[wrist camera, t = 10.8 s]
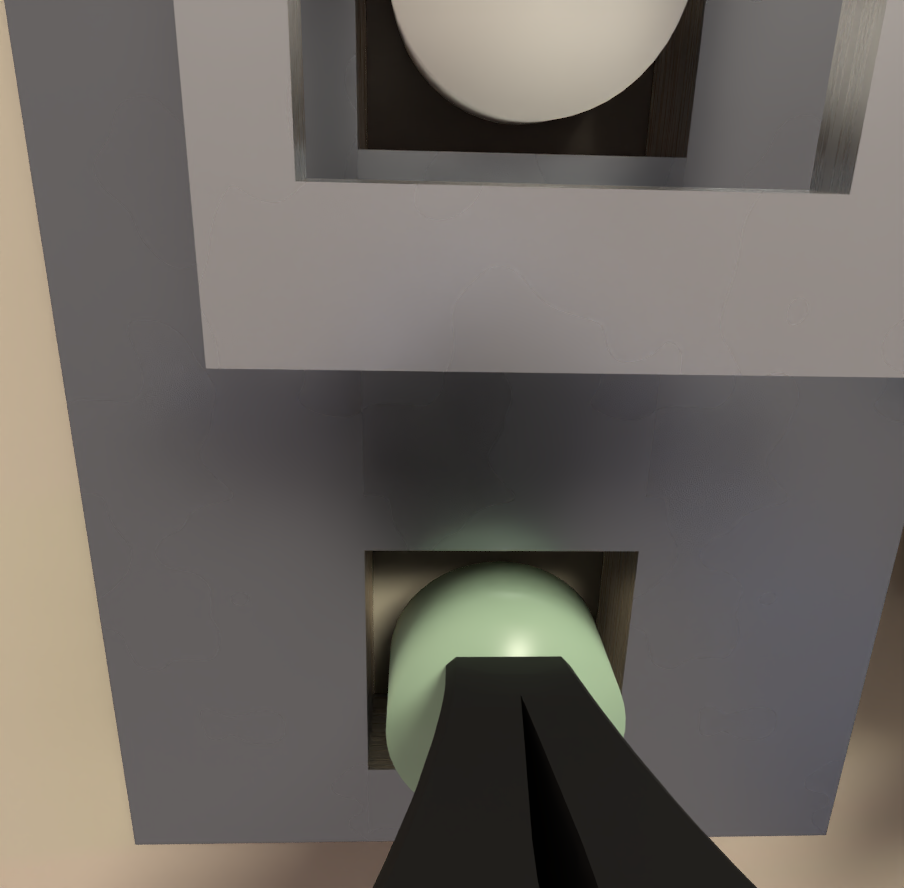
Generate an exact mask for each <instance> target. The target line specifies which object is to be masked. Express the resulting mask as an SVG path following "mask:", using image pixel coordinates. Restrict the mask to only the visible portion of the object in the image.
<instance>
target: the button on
mask: <svg viewBox="0 0 904 888" xmlns="http://www.w3.org/2000/svg"><path fill="white" fill-rule="evenodd" d="M538 656H561V657H562V658H563V659H564V660H565V661H566V662H567V663H568V664H569V665H570V666H571V668H572V669H573V670H574V672H575V673H576V675H577V676H578V677H579V679H580V680H581V682H582V683H583V684H584V686H585V687H586V689H587V690H588V691H589V693H590V694H591V696H592V697H593V698H594V700H595V701H596V702H597V704H598V705H599V706H600V708H601V709H602V710H603V712H604V713H605V714H606V716H607V717H608V718H609V720H610V721H611V722H612V723H613V725H614V726H615V727H616V729H617V730H618V731H619V733H620V734H621V735H622V736H623V738H624V733H625V721H626V716H625V707H624V702H623V699H622V695H621V692H620V689H619V686H618V684H617V681H616V678H615V676H614V673H613V670H612V668H611V665H610V662H609V659H608V657H607V654H606V651H605V649H604V646H603V643H602V640H601V638H600V635H599V632H598V630H597V627H596V624H595V622H594V619H593V617H592V615H591V612H590V610H589V608H588V607H587V605H586V604H585V602H584V601H583V599H582V598H581V597H580V596H579V595H578V594H577V592H576V591H575V590H574V589H573V588H571V587H570V586H569V585H568V584H567V583H565V582H564V581H563V580H561V579H560V578H558V577H556V576H555V575H553V574H551V573H549V572H547V571H544V570H542V569H540V568H537V567H533V566H530V565H527V564H521V563H515V562H503V561H496V562H483V563H477V564H471V565H468V566H464V567H461V568H458V569H455V570H453V571H451V572H448V573H446V574H444V575H442V576H440V577H439V578H437V579H435V580H433V581H432V582H431V583H429V584H428V585H427V586H425V587H424V588H423V589H421V590H420V591H419V592H418V593H417V594H416V595H415V596H414V597H413V598H412V599H411V601H410V602H409V603H408V605H407V606H406V607H405V608H404V610H403V612H402V614H401V615H400V617H399V619H398V621H397V624H396V626H395V629H394V632H393V636H392V640H391V650H390V666H389V684H388V701H387V718H386V740H387V747H388V751H389V755H390V758H391V760H392V762H393V765H394V767H395V769H396V771H397V772H398V774H399V775H400V777H401V779H402V780H403V781H404V782H405V783H406V784H407V786H408V787H409V788H410V789H411V790H412V791H413V792H414V793H415V790H416V787H417V784H418V781H419V779H420V776H421V773H422V770H423V767H424V764H425V761H426V758H427V755H428V752H429V749H430V746H431V743H432V741H433V737H434V734H435V730H436V726H437V722H438V719H439V715H440V711H441V707H442V702H443V697H444V691H445V676H446V665H447V664H448V663H449V662H450V661H452V660H453V659H454V658H455V657H538Z"/></svg>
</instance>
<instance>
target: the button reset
mask: <svg viewBox="0 0 904 888" xmlns="http://www.w3.org/2000/svg"><path fill="white" fill-rule="evenodd" d="M687 1H688V0H391V2H392V7H393V12H394V17H395V21H396V24H397V27H398V31H399V34H400V37H401V39H402V41H403V44H404V46H405V48H406V50H407V53H408V54H409V56H410V58H411V59H412V61H413V63H414V65H415V66H416V68H417V69H418V71H419V72H420V73H421V75H422V76H423V77H424V78H425V80H426V81H427V82H428V83H429V84H430V85H431V86H432V87H433V88H434V89H435V90H436V91H437V92H438V93H439V94H440V95H441V96H442V97H444V98H445V99H446V100H447V101H449V102H450V103H451V104H453V105H454V106H456V107H458V108H459V109H461V110H463V111H465V112H466V113H468V114H471V115H473V116H476V117H478V118H481V119H484V120H488V121H492V122H496V123H502V124H512V125H520V124H534V123H539V122H545V121H550V120H554V119H559V118H564V117H569V116H573V115H576V114H579V113H582V112H585V111H588V110H590V109H592V108H594V107H596V106H598V105H600V104H602V103H605V102H607V101H608V100H610V99H611V98H613V97H614V96H616V95H617V94H619V93H620V92H622V91H623V90H625V89H626V88H627V87H628V86H629V85H631V84H632V83H633V82H634V81H635V80H636V79H638V78H639V77H640V76H641V75H642V74H643V73H644V72H645V70H646V69H647V68H648V67H649V66H650V65H651V64H652V63H653V62H654V61H655V59H656V58H657V56H658V55H659V54H660V52H661V51H662V49H663V48H664V47H665V45H666V44H667V42H668V41H669V39H670V37H671V35H672V33H673V32H674V30H675V28H676V26H677V24H678V23H679V20H680V18H681V15H682V13H683V10H684V8H685V6H686V3H687Z"/></svg>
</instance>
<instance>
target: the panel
mask: <svg viewBox="0 0 904 888" xmlns="http://www.w3.org/2000/svg"><path fill="white" fill-rule="evenodd" d="M4 2H5V9H6V15H7V22H8V28H9V35H10V41H11V48H12V54H13V60H14V67H15V73H16V80H17V86H18V93H19V99H20V105H21V112H22V118H23V125H24V131H25V138H26V144H27V150H28V157H29V163H30V170H31V176H32V183H33V189H34V195H35V202H36V208H37V215H38V221H39V228H40V234H41V241H42V247H43V253H44V260H45V266H46V273H47V279H48V286H49V292H50V298H51V305H52V311H53V318H54V324H55V331H56V337H57V343H58V350H59V356H60V363H61V369H62V376H63V382H64V388H65V395H66V401H67V408H68V414H69V421H70V427H71V434H72V440H73V446H74V453H75V459H76V466H77V472H78V479H79V485H80V491H81V498H82V504H83V511H84V517H85V524H86V530H87V536H88V543H89V549H90V556H91V562H92V569H93V575H94V581H95V588H96V594H97V601H98V607H99V614H100V620H101V626H102V633H103V639H104V646H105V652H106V659H107V665H108V672H109V678H110V684H111V691H112V697H113V704H114V710H115V717H116V723H117V729H118V736H119V742H120V749H121V755H122V762H123V768H124V774H125V781H126V787H127V794H128V800H129V807H130V813H131V819H132V826H133V832H134V839H135V845H142V844H215V843H287V842H360V841H394V840H395V838H396V835H397V833H398V831H399V828H400V826H401V824H402V821H403V819H404V817H405V814H406V812H407V810H408V807H409V805H410V803H411V800H412V798H413V795H414V792H413V791H412V790H411V789H410V788H409V787H408V786H407V784H406V783H405V782H404V781H403V780H402V779H401V777H400V775H399V774H398V772H397V771H396V769H395V767H394V765H393V762H392V760H391V758H390V755H389V751H388V747H387V740H386V718H387V701H388V694H374V631H373V552H372V551H604V557H603V567H602V576H601V586H600V595H599V605H598V615H597V624H596V627H597V630H598V632H599V635H600V638H601V640H602V643H603V646H604V649H605V651H606V654H607V657H608V659H609V662H610V665H611V668H612V670H613V673H614V676H615V678H616V681H617V684H618V686H619V689H620V692H621V695H622V699H623V702H624V707H625V716H626V721H625V733H624V739H625V740H626V741H627V743H628V744H629V745H630V746H631V748H632V749H633V750H634V751H635V753H636V754H637V755H638V756H639V758H640V759H641V760H642V761H643V762H644V764H645V765H646V766H647V767H648V768H649V770H650V771H651V772H652V773H653V774H654V776H655V777H656V778H657V779H658V780H659V781H660V783H661V784H662V785H663V786H664V787H665V789H666V790H667V791H668V792H669V793H670V795H671V796H672V797H673V798H674V799H675V800H676V802H677V803H678V804H679V805H680V806H681V807H682V808H683V809H684V811H685V812H686V813H687V814H688V815H689V816H690V817H691V819H692V820H693V821H694V822H695V823H696V824H697V825H698V826H699V827H700V829H701V830H702V831H703V832H704V833H705V834H706V835H707V836H708V837H725V836H798V835H826V832H827V828H828V824H829V820H830V816H831V812H832V808H833V804H834V800H835V796H836V792H837V788H838V784H839V780H840V776H841V772H842V769H843V765H844V761H845V757H846V753H847V749H848V745H849V741H850V737H851V733H852V729H853V725H854V721H855V717H856V713H857V709H858V705H859V701H860V697H861V693H862V689H863V685H864V681H865V677H866V673H867V669H868V665H869V661H870V657H871V653H872V650H873V646H874V642H875V638H876V634H877V630H878V626H879V622H880V618H881V614H882V610H883V606H884V602H885V598H886V594H887V590H888V586H889V582H890V578H891V574H892V570H893V566H894V562H895V558H896V554H897V550H898V546H899V542H900V538H901V534H902V531H903V527H904V0H688V1H687V3H686V6H685V8H684V10H683V13H682V15H681V18H680V20H679V23H678V24H677V26H676V28H675V30H674V32H673V33H672V35H671V37H670V39H669V41H668V42H667V44H666V45H665V47H664V48H663V49H662V51H661V52H660V54H659V55H658V56H657V58H656V59H655V67H654V77H653V86H652V96H651V106H650V115H649V125H648V134H647V144H646V154H645V156H613V155H575V154H536V153H497V152H458V151H420V150H381V149H367V82H366V4H365V0H4Z"/></svg>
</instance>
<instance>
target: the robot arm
mask: <svg viewBox="0 0 904 888" xmlns="http://www.w3.org/2000/svg"><path fill="white" fill-rule="evenodd" d="M373 888H757V887H756V886H755V885H754V884H753V883H752V882H751V881H750V880H749V879H748V878H747V877H746V876H745V875H744V874H743V873H742V872H741V871H740V870H739V869H738V868H737V867H736V866H735V865H734V864H733V863H732V862H731V861H730V860H729V858H728V857H727V856H726V855H725V854H724V853H723V852H722V851H721V850H720V849H719V848H718V847H717V846H716V845H715V844H714V842H713V841H712V840H711V839H710V838H709V837H708V836H707V835H706V834H705V833H704V832H703V831H702V830H701V829H700V827H699V826H698V825H697V824H696V823H695V822H694V821H693V820H692V819H691V817H690V816H689V815H688V814H687V813H686V812H685V811H684V809H683V808H682V807H681V806H680V805H679V804H678V803H677V802H676V800H675V799H674V798H673V797H672V796H671V795H670V793H669V792H668V791H667V790H666V789H665V787H664V786H663V785H662V784H661V783H660V781H659V780H658V779H657V778H656V777H655V776H654V774H653V773H652V772H651V771H650V770H649V768H648V767H647V766H646V765H645V764H644V762H643V761H642V760H641V759H640V758H639V756H638V755H637V754H636V753H635V751H634V750H633V749H632V748H631V746H630V745H629V744H628V743H627V741H626V740H625V739H624V738H623V736H622V735H621V734H620V733H619V731H618V730H617V729H616V727H615V726H614V725H613V723H612V722H611V721H610V720H609V718H608V717H607V716H606V714H605V713H604V712H603V710H602V709H601V708H600V706H599V705H598V704H597V702H596V701H595V700H594V698H593V697H592V696H591V694H590V693H589V691H588V690H587V689H586V687H585V686H584V684H583V683H582V682H581V680H580V679H579V677H578V676H577V675H576V673H575V672H574V670H573V669H572V668H571V666H570V665H569V664H568V663H567V662H566V661H565V660H564V659H563V658H562V657H561V656H538V657H455V658H454V659H453V660H452V661H450V662H449V663H448V664H447V665H446V676H445V691H444V697H443V702H442V707H441V711H440V715H439V719H438V722H437V726H436V730H435V734H434V737H433V741H432V743H431V746H430V749H429V752H428V755H427V758H426V761H425V764H424V767H423V770H422V773H421V776H420V779H419V781H418V784H417V787H416V790H415V793H414V795H413V798H412V800H411V803H410V805H409V807H408V810H407V812H406V814H405V817H404V819H403V821H402V824H401V826H400V828H399V831H398V833H397V835H396V838H395V840H394V842H393V845H392V847H391V849H390V852H389V854H388V856H387V859H386V861H385V863H384V865H383V867H382V870H381V872H380V874H379V876H378V878H377V880H376V882H375V884H374V886H373Z"/></svg>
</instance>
